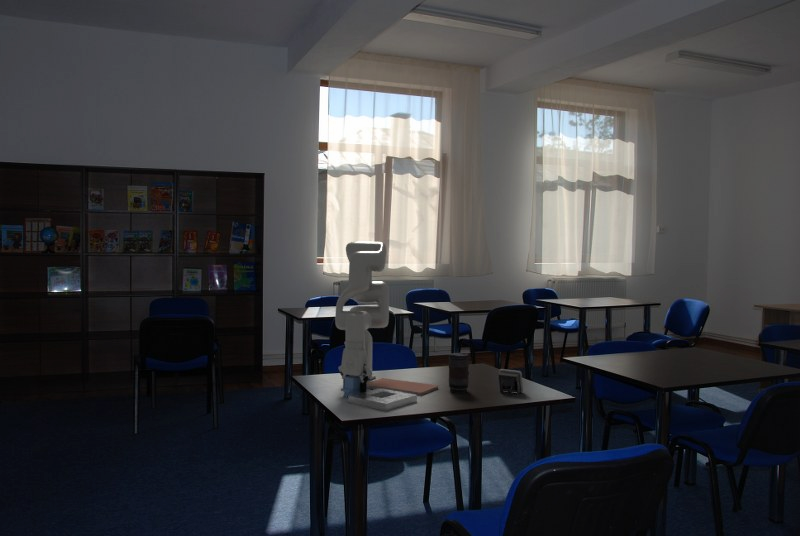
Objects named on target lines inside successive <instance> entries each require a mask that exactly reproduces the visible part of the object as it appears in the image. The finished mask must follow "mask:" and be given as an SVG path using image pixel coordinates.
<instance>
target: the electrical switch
mask: <svg viewBox="0 0 800 536" xmlns="http://www.w3.org/2000/svg"><path fill="white" fill-rule="evenodd" d="M498 385H499V392H501V391H509V392H512V391H513V392H517V393H519V394H521V393H520V392H522V393H523V392H524V384H523V373H522V371H521V370H514V369H513V370H512V369H503V368H500V369H499V370H498Z"/></svg>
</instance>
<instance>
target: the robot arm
mask: <svg viewBox="0 0 800 536" xmlns="http://www.w3.org/2000/svg"><path fill="white" fill-rule="evenodd" d="M345 254H346V257H347V261H348V262H349V264H348V281H347V282H348V283H347V284H348V285H347V288H345V289H344V290H343V292H341V294H340V296H338V298H337V300H336V301H337V302H336V305H335V316H334V317H335V318H334V320H335V321H334V322H335V323H334V324H335V327H336V328H337V329H338V330H341V331H345V341H344V345H345V348H343V351H342V358H341V365H339V366H338V367H337V368H338V370H339V374H340V375H341V379H342V388H344V377H347V376H359V378H360V380H361V382H360V393H362V392H366V391H368V388H367V383H369V381H370V380H374V379H376V374H375V373H373V336H372V335H371V333H370V331H369V329H373V328H374V329H381V328H382V329H385V328H386V327H388V325H389V322H390V321H389V319H390V291H389V290H390V289H389V285H388V284H387V283H386V282H385V281H380V280H378V281H376V280H374V281H373V273H375V272H376V273H378V272H381V273H382V272H383V271H384V269H385V266H386V259H387V246H386V244H385V243H384V242H382V241H351V242H348V243H347V244H346V247H345ZM350 299H353V301H354V302H357V303H359V304H362V303H363V304H378V305H357V306H353V307H351V308H349V309H350V310H343V309H344V306H345V304H346V302H348V301H349V300H350ZM362 376H363V377H364V378H363V377H362ZM369 379H370V380H369Z"/></svg>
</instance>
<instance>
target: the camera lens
mask: <svg viewBox="0 0 800 536" xmlns="http://www.w3.org/2000/svg"><path fill="white" fill-rule="evenodd" d="M469 360H470V358H469V354H468V353H464V352H453V353H449V354H448V387H449V391H450V392H451V393H454V394H455V393H456V394H464V393H467V391H468V387H469V375H470V371H469V368H470V367H469V366H470V365H469V364H470V361H469Z"/></svg>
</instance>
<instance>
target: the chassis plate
mask: <svg viewBox="0 0 800 536" xmlns="http://www.w3.org/2000/svg"><path fill="white" fill-rule="evenodd" d="M347 398H348V400H347V401H348V402H347V403H349V404H351V405H357V406H361V407H366V408H371V409H376V410H381V411H385V412H386V411H390V410H394V409H396V408H401V407H404V406H407V405H411V404H414V403H417V402H418V395H414V394H409V393H404V392H398V391H393V390H388V389H383V388H378V389H373V390H372V389H369V390H367V391H366V392H362V393H358V394H354V395H350V396H348V397H347Z"/></svg>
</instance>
